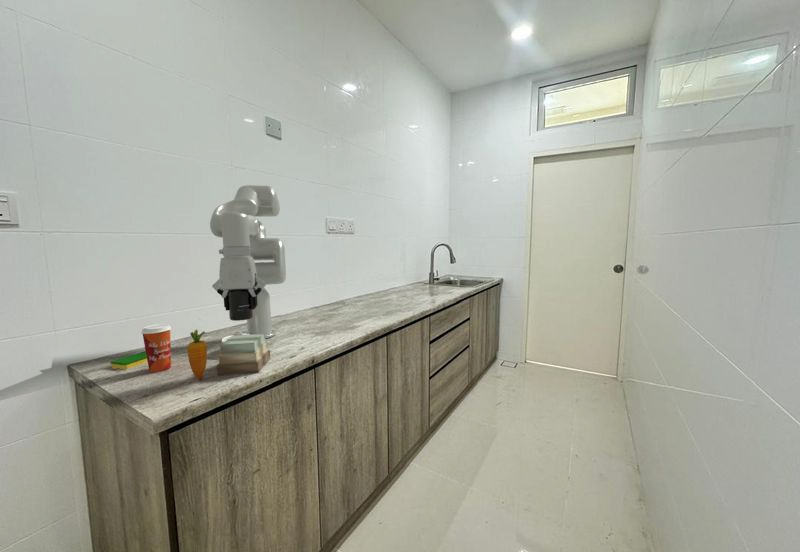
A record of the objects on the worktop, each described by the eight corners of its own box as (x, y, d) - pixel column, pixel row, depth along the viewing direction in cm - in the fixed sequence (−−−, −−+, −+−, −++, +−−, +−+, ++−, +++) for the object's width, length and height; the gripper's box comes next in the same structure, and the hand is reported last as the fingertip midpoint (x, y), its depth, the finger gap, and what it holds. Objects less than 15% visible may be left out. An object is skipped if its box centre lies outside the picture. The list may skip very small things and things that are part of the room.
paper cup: (151, 375, 99) (146, 330, 97) (140, 370, 103) (136, 327, 101) (179, 367, 105) (175, 324, 104) (168, 362, 109) (164, 322, 108)
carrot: (195, 376, 97) (191, 327, 96) (212, 375, 97) (208, 326, 96) (186, 383, 92) (181, 332, 91) (204, 382, 92) (200, 331, 91)
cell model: (216, 357, 114) (215, 338, 113) (229, 346, 126) (227, 329, 125) (247, 355, 116) (245, 336, 115) (256, 345, 127) (255, 328, 127)
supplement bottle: (244, 321, 99) (241, 282, 98) (224, 320, 100) (221, 282, 99) (258, 316, 106) (255, 279, 104) (239, 316, 107) (237, 279, 106)
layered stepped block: (233, 360, 110) (231, 334, 109) (270, 358, 111) (268, 333, 110) (217, 374, 98) (215, 345, 97) (258, 372, 99) (256, 343, 98)
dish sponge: (110, 368, 106) (109, 361, 106) (152, 354, 120) (152, 348, 119) (126, 370, 104) (125, 363, 104) (167, 356, 118) (167, 349, 117)
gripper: (201, 253, 96) (206, 312, 98) (262, 252, 98) (266, 310, 100) (213, 253, 104) (218, 308, 106) (269, 251, 106) (273, 305, 107)
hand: (241, 308), depth 103 cm, fingers closed on supplement bottle, 6 cm apart
